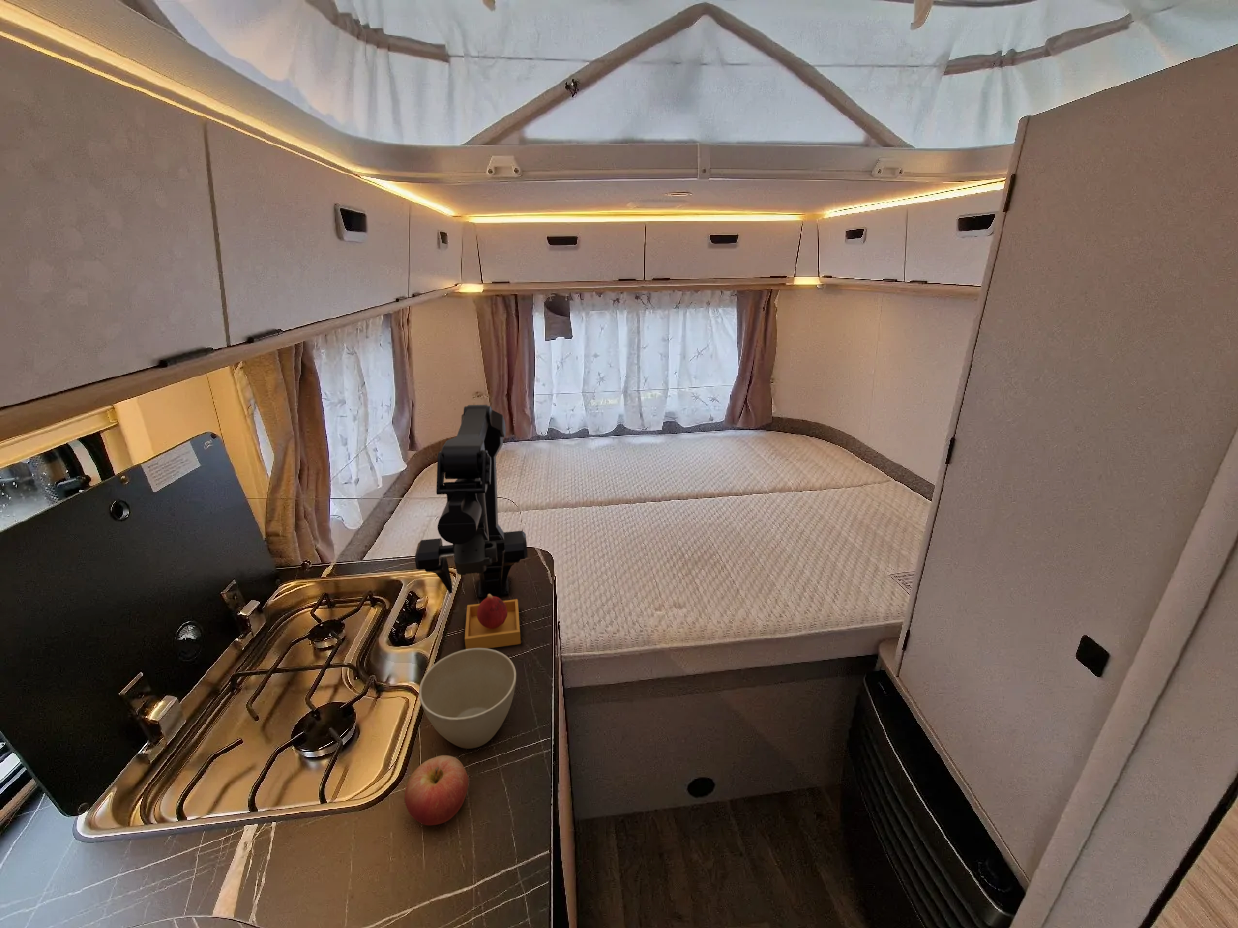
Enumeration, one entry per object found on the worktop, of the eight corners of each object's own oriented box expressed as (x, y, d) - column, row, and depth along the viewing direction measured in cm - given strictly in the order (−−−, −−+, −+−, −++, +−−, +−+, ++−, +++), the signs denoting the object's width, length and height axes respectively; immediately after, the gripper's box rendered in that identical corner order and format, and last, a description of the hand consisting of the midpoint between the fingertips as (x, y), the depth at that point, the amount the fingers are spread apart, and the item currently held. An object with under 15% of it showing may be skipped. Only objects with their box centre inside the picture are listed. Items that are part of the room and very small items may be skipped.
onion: (512, 619, 106) (509, 586, 103) (503, 638, 100) (500, 605, 97) (484, 617, 106) (481, 584, 103) (474, 636, 101) (470, 602, 98)
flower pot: (528, 750, 79) (525, 700, 75) (430, 783, 73) (421, 732, 70) (509, 683, 91) (506, 637, 87) (424, 708, 86) (416, 660, 82)
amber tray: (468, 616, 107) (467, 605, 106) (518, 610, 109) (517, 598, 108) (466, 651, 98) (464, 638, 97) (520, 643, 100) (519, 631, 99)
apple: (483, 796, 72) (478, 756, 69) (440, 850, 65) (432, 808, 62) (442, 770, 75) (435, 730, 72) (396, 818, 69) (387, 777, 66)
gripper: (404, 543, 79) (417, 624, 85) (527, 531, 83) (531, 610, 89) (414, 510, 89) (425, 585, 95) (523, 501, 93) (527, 573, 99)
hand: (477, 589), depth 94 cm, fingers open, 9 cm apart
